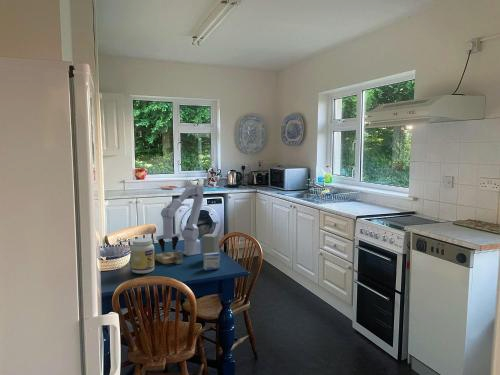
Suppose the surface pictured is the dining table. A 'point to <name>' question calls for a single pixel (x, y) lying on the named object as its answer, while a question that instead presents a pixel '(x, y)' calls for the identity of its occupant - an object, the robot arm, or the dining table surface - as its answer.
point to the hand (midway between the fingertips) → (168, 250)
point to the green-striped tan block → (165, 257)
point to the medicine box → (211, 261)
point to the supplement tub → (142, 255)
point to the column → (178, 257)
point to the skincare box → (210, 244)
